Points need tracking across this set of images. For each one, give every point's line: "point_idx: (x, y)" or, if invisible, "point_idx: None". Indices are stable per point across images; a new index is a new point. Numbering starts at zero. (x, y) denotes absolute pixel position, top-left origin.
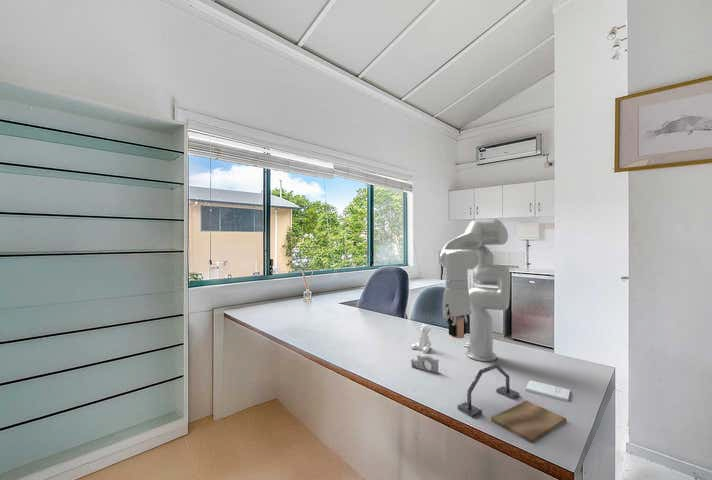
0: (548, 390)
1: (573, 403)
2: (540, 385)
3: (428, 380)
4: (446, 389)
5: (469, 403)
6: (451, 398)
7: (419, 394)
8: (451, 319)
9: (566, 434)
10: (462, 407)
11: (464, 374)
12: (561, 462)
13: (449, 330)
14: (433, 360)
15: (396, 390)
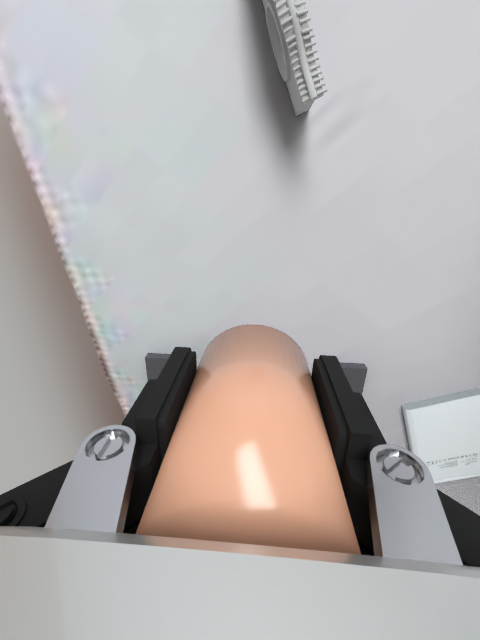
0: (438, 448)
1: None
2: (459, 426)
3: (201, 156)
4: (206, 258)
5: None
6: (175, 308)
7: (97, 227)
8: (151, 497)
9: None
10: (150, 370)
11: (376, 210)
12: None
13: (142, 396)
14: (295, 71)
15: (31, 148)
